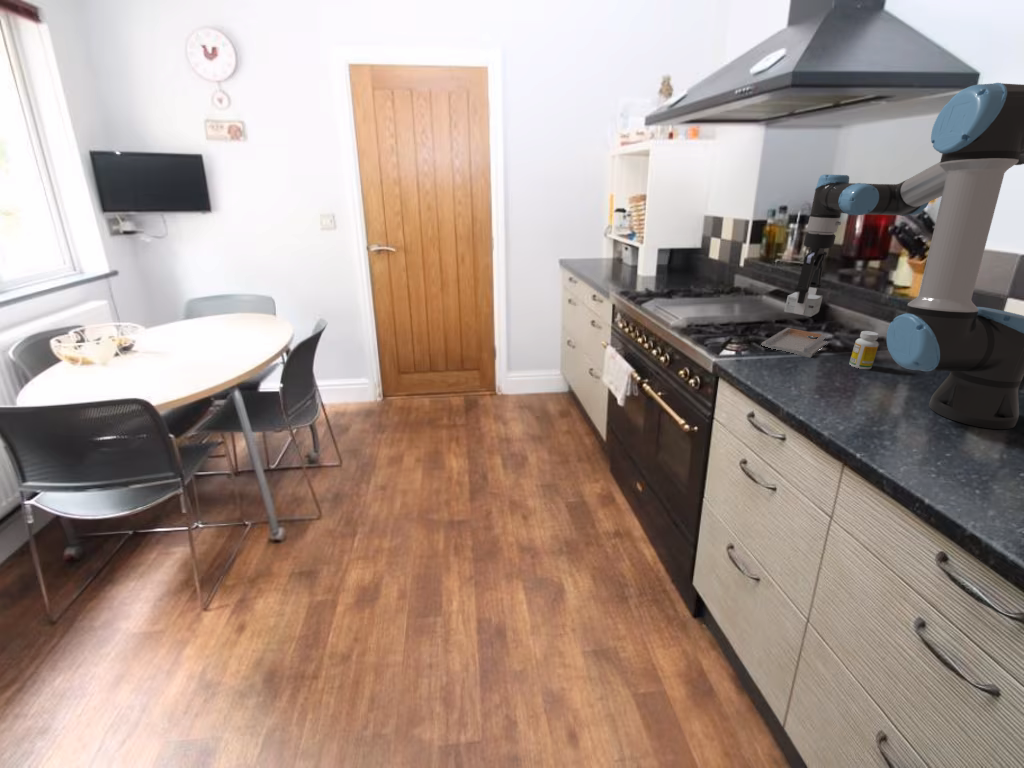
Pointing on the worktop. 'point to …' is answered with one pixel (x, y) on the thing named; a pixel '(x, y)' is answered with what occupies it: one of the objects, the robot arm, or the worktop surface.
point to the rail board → (796, 342)
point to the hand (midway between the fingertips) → (802, 311)
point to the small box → (811, 304)
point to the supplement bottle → (864, 350)
